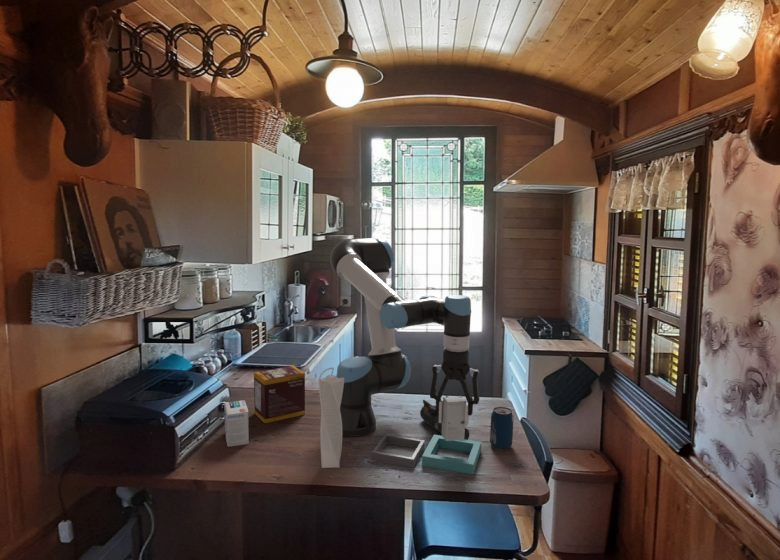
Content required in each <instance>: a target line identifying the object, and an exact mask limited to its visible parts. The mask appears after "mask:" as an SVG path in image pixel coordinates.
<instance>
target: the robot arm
mask: <svg viewBox="0 0 780 560" xmlns="http://www.w3.org/2000/svg"><path fill="white" fill-rule="evenodd" d="M329 260H330V261H329V263H330V266H331V269H332V271H334V273H335V274H336V275H337V276H338V277H339V278H340V279H343V280H346V281H348V282H349V283H350V284H351V285H352V286H353V287H354V288H355V289H356V290H357V291H358V292H359V293H360V294H361V295H362V296H363V297H364V303H365V311H366V316H367V324H368V331H369V337H370V338H369V339H370V345H371V350H370V351H369V352H368V356H352V357H347V358H345V359H343V360H342V361H340V362H339V364H338V365H337V369H336V375H335V376H336V377H337V378H342V377H343V378H344V387H343V394H342V400H341V405H340V413H341V419H342V436H345V437H362V436H366V435H369V434H371V433H373V432H374V431H375V430H376V429H377V420H376V416H375V413H374V412H375V411H374V409H373V407H372V396H373V395H377V394H381V393H384V392H385V393H386V392H389V391H396V390H397V389H400V388H403V387H405V386H406V385H407V384H408V382H409V381H410V377H411V372H412V371H411V363H410V360H408V357H407V355H405V354H402V350H401V348H400V347H398V346H397V344H396V343H397V342H396V337H395V331H394V330H395V329H398V330H399V329H402V328H408V327H414V326H420V325H427V324H438V325H441V326H443V347H444V348H443V351H442V352H443V353H442V364H434V365H433V366H432V367H431V368H432V369H431V370H432V380H431V387H430V392H429V397H430V398H431V399H434V400H435V405H436V411H439V423H441V422H442V411H443V394H444V392H445V390H446V388H447V385H448V383H449V381H450V380H452V381H453V380H455V381H459V383H460V384H461V385H460V386H461V388H462V390H463V393H464V394H463V395H464V397H465V400H466V405H465V426H464V427H465V428H468V426H469V421H470V416H472V415H473V414H474V413H473V412H474V411H473V410H474V405H478V404H479V402H480V390H479V378H478V376H479V373H480V369H478V368H476V369H474V368H473V367H472V368H471V366H470V350H469V348H470V343H471V342H470V341H471V339H470V338H471V336H470V335H471V334H470V333H471V316H472V300H471V299H470V297H469V296H467V295H463V294H462V295H461V294H449V295H446V297H445V298H444V299H443V298H440V297H436V296H433V295H423V296H421V297H420V298H418V299H412V300H406V299H404V298H403V297H402V296H401V295H400V294H398V292H396V291H395V290H394V289H393V288H392V287H390V286H389V285H388V283H387V278H388V277H389V275H390V269H392V268H393V265H394V262H395V255H394V251H393V248H392V246H391V245H390V243H389V242H388V241H386V240H385V239H384V238H375V237H372V238H349V239H344V240H341V241H340V242H338V243H336V245H334V247H333V249H332V251H331V252H330V258H329ZM441 370H442V371H443V373H444V374H445V376H444V378H443V381H442V383H441V386H440V388H439V391H438V393H437V387H438V380H439V376H440V372H441ZM469 373H470V377H472V393H473V394H472V393H471V390H470V387H469V383H468V380H467V377H466V376H467V375H468V374H469Z"/></svg>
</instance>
